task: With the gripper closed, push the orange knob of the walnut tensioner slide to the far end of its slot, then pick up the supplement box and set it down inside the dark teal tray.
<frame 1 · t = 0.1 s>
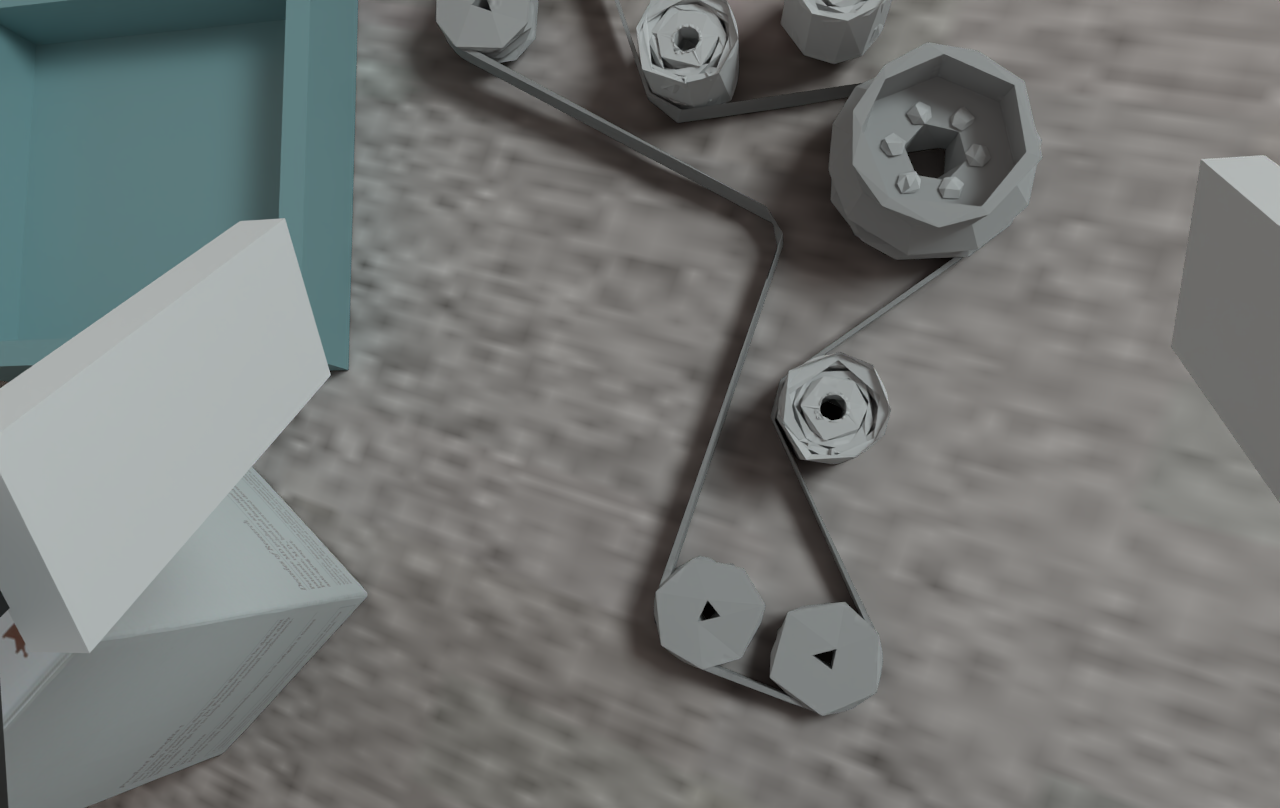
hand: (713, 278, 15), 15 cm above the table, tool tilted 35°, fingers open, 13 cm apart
pulley system: (780, 236, 31), on the table
tray: (181, 192, 34), on the table
supplement box: (228, 594, 33), on the table
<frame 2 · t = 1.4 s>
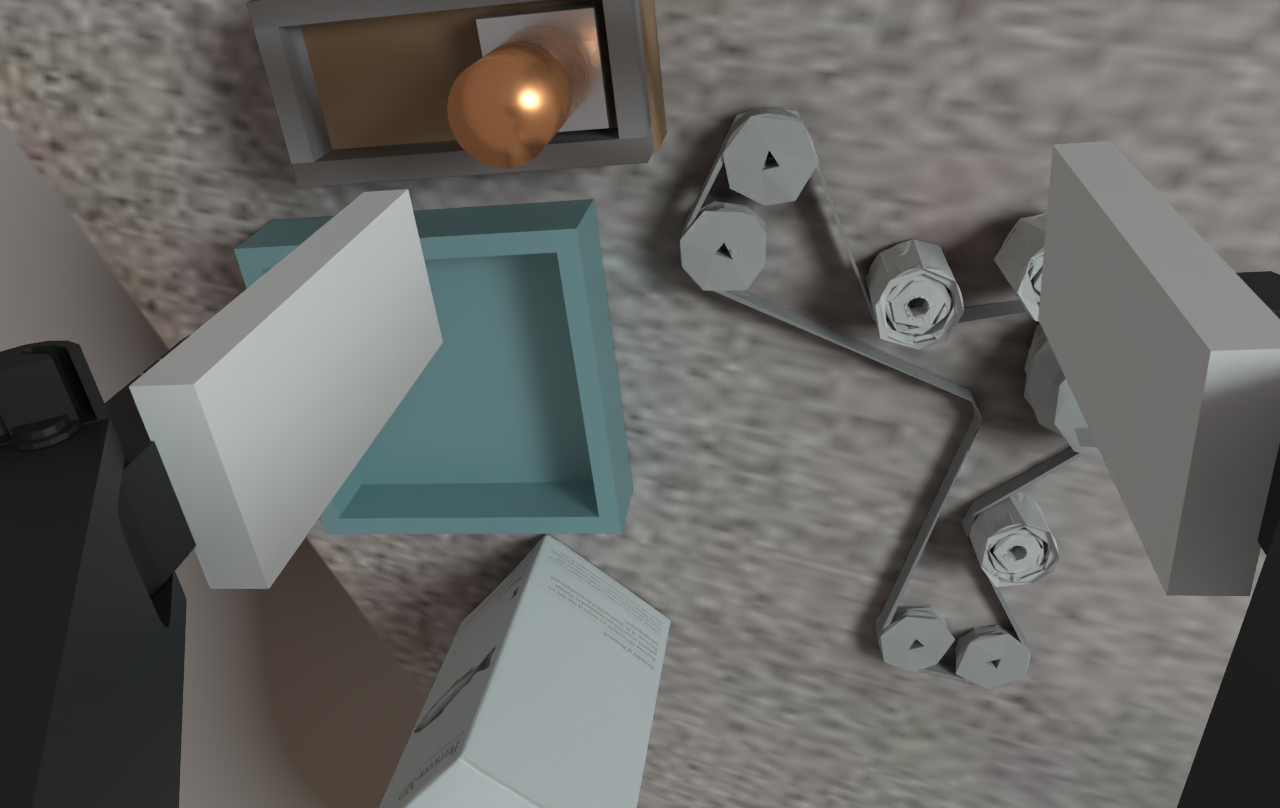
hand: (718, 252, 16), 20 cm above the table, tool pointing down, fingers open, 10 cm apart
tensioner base: (484, 57, 34), on the table
pulley system: (973, 391, 39), on the table
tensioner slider: (529, 88, 29), point 6 cm above the table, slide at 0.0 cm
tray: (461, 360, 41), on the table
supplement box: (565, 615, 47), on the table
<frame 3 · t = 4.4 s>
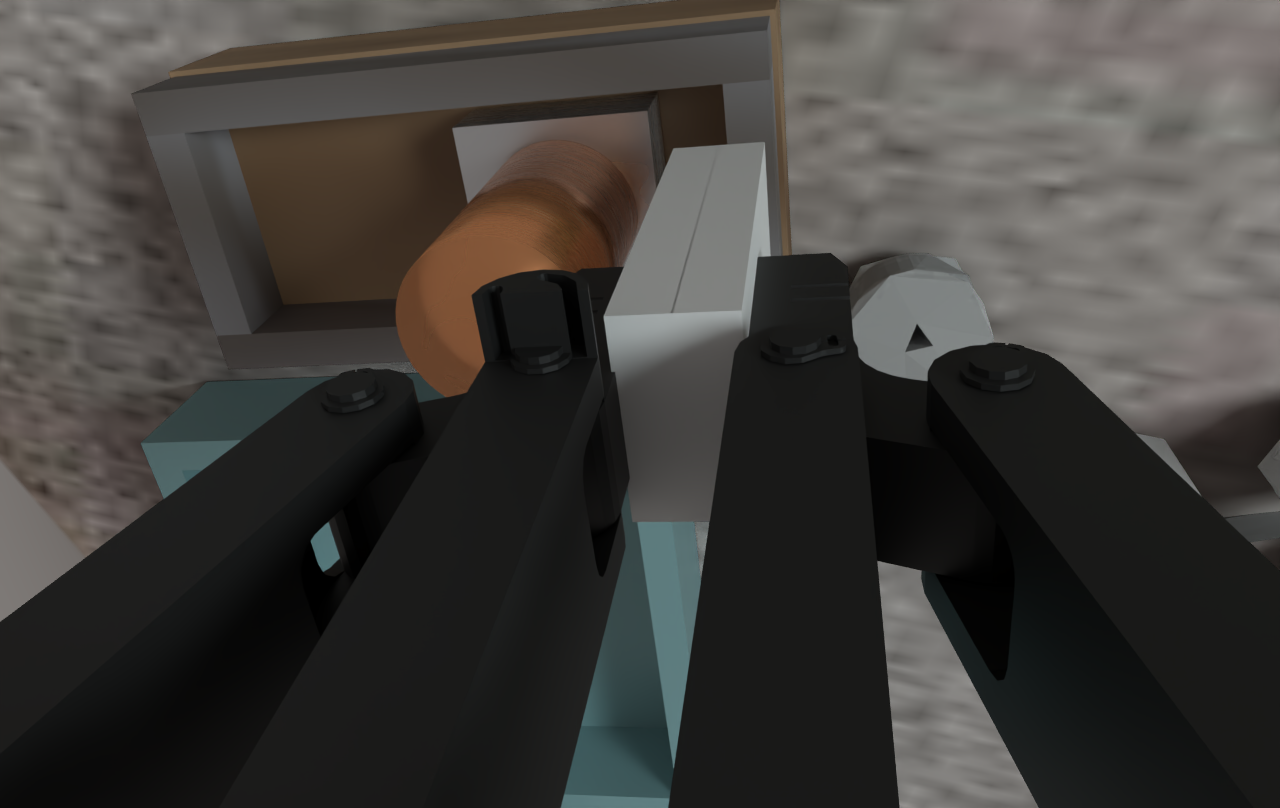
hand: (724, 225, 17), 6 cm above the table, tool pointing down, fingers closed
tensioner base: (515, 161, 23), on the table
pulley system: (1194, 622, 27), on the table
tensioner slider: (540, 249, 17), point 6 cm above the table, slide at 1.1 cm, touching gripper
tray: (479, 568, 29), on the table
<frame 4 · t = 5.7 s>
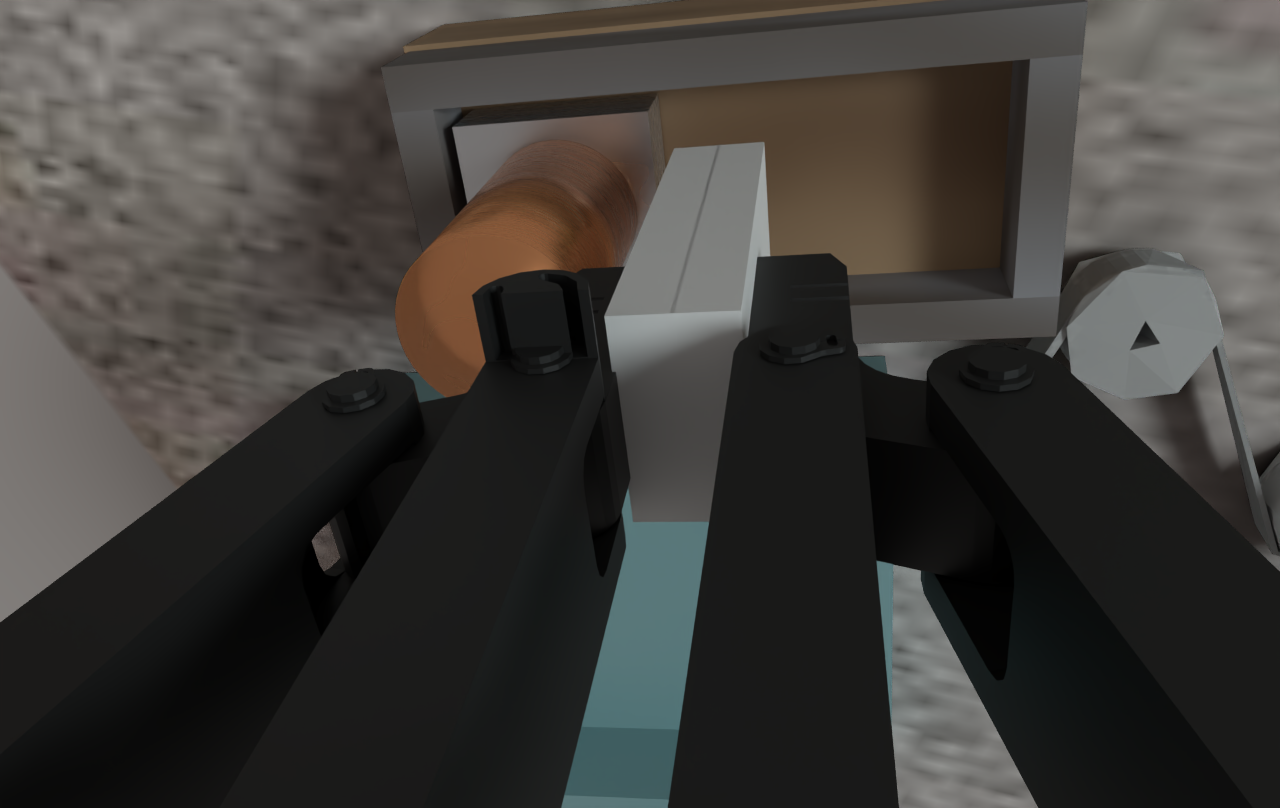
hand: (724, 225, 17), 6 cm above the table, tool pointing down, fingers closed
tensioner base: (737, 144, 22), on the table
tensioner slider: (540, 248, 17), point 6 cm above the table, slide at 6.0 cm, touching gripper
tray: (648, 569, 28), on the table
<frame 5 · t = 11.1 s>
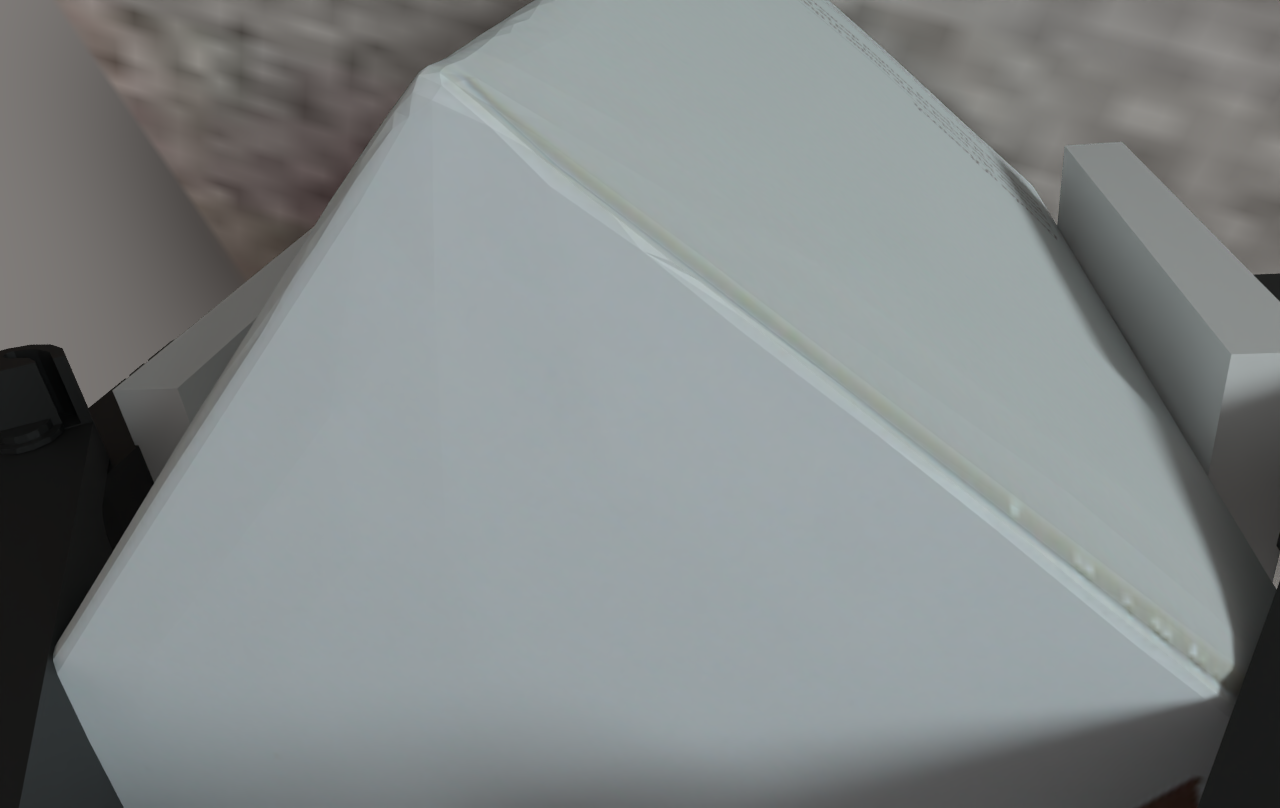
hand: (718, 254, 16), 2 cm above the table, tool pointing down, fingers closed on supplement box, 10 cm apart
supplement box: (728, 203, 18), on the table, touching gripper
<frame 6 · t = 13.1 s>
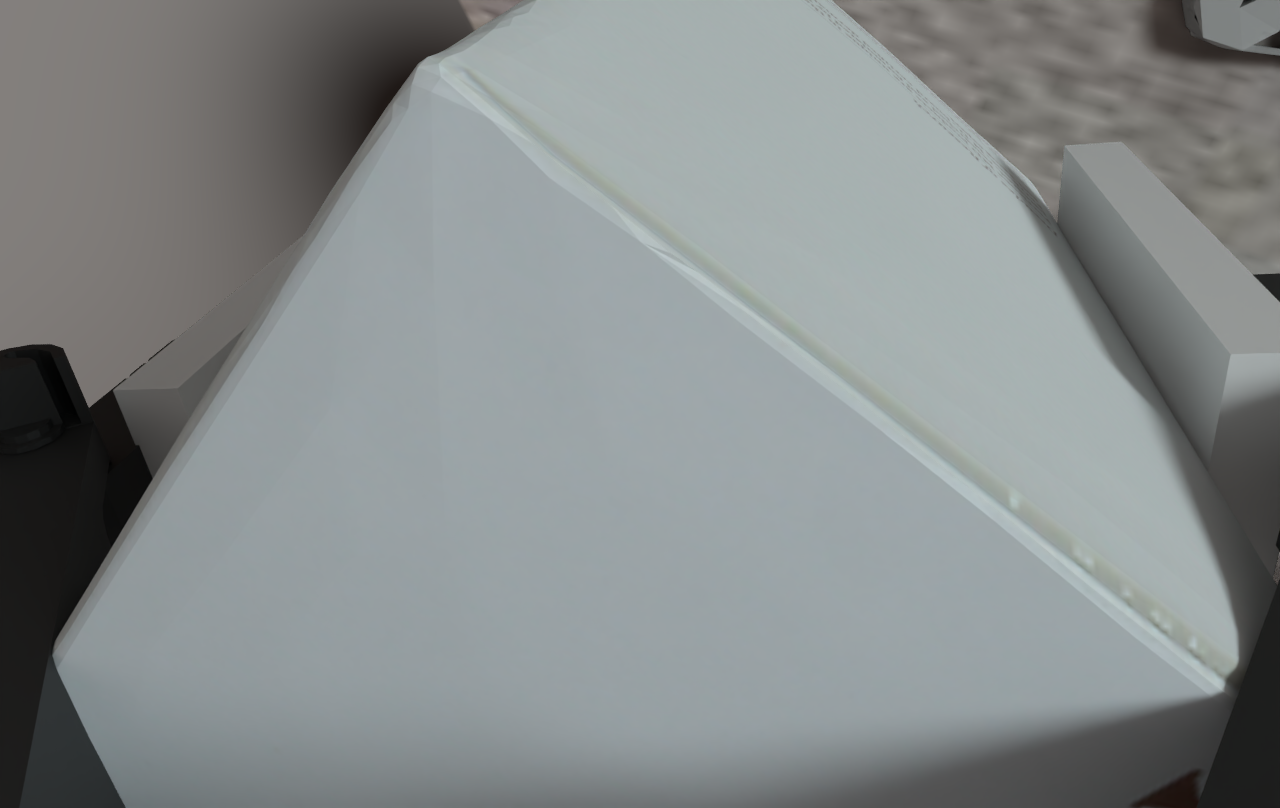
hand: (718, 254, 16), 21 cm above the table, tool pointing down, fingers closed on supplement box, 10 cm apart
supplement box: (728, 201, 18), point 19 cm above the table, touching gripper
when the fingers open (5 cm above the table, at t = 17.8 s): supplement box drops 2 cm, resting on tray.
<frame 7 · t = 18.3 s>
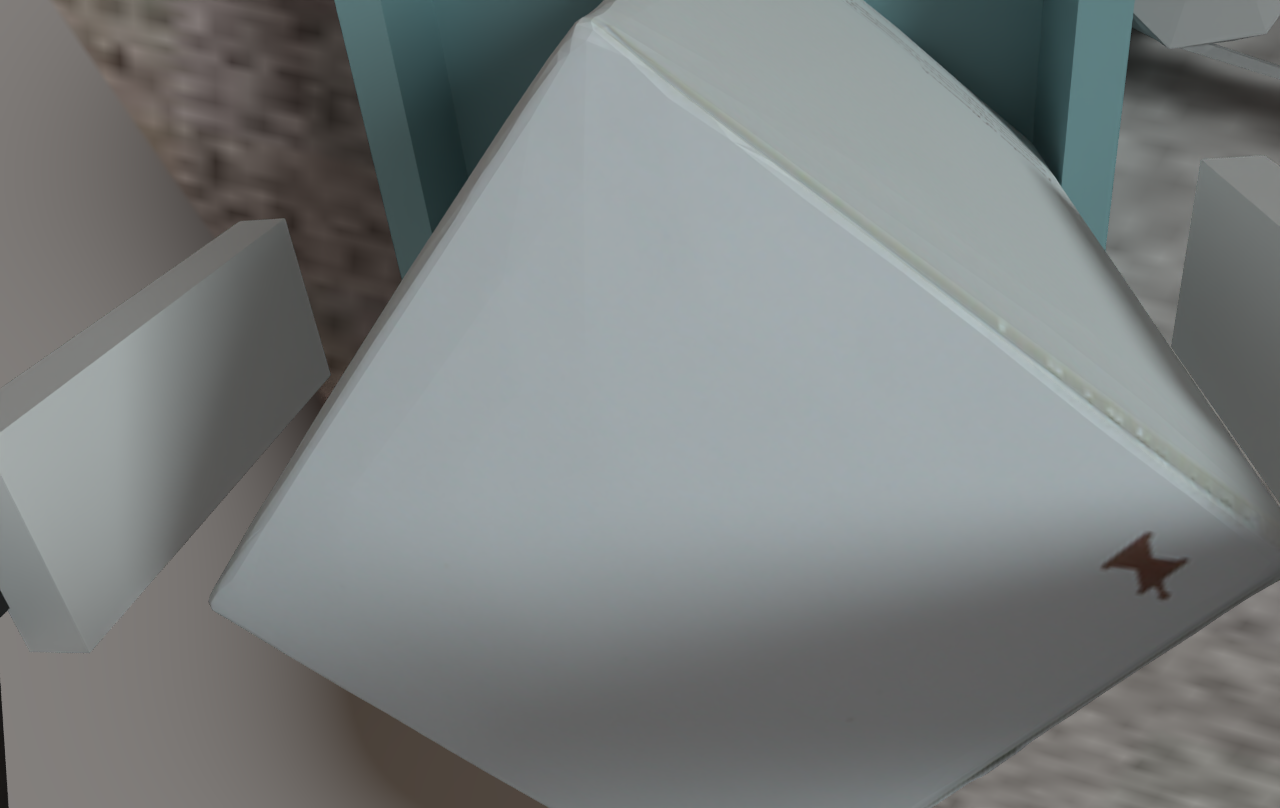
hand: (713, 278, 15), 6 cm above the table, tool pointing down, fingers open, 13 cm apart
tray: (738, 157, 20), on the table
supplement box: (759, 170, 20), resting on tray
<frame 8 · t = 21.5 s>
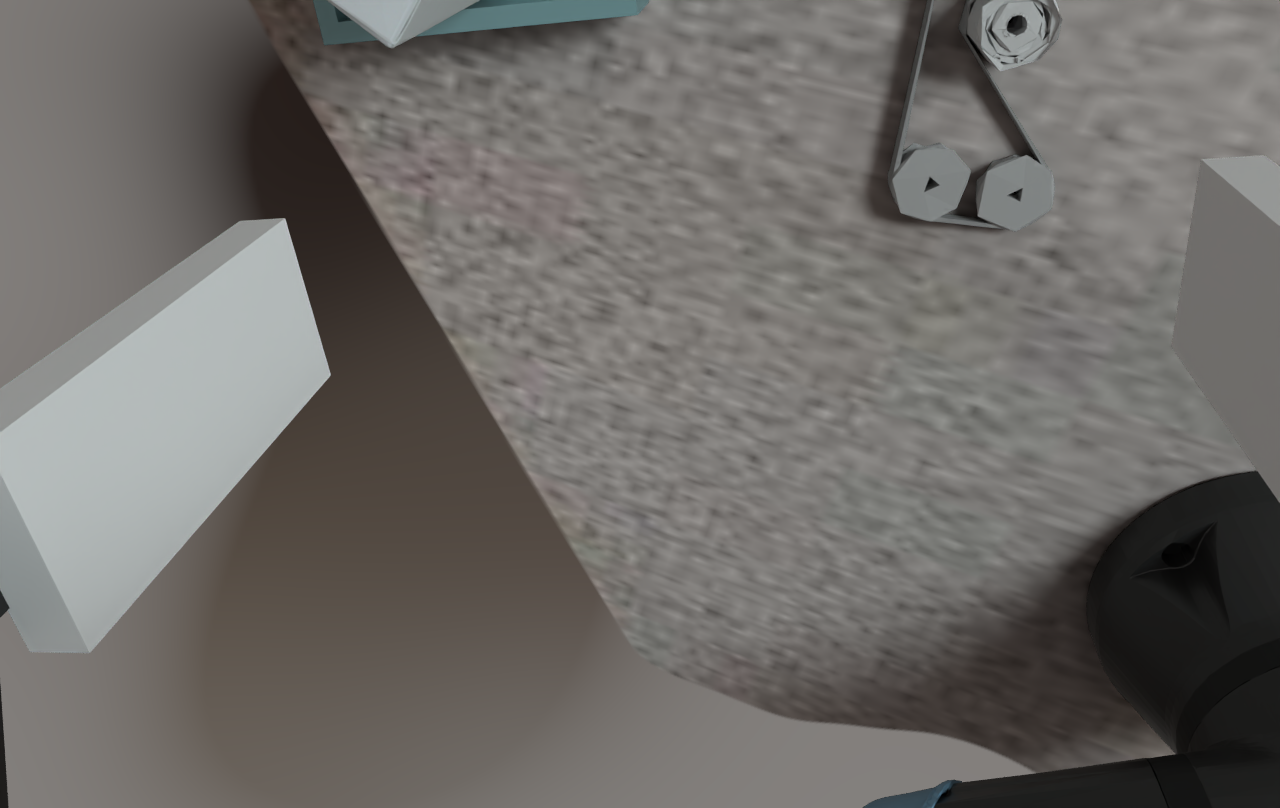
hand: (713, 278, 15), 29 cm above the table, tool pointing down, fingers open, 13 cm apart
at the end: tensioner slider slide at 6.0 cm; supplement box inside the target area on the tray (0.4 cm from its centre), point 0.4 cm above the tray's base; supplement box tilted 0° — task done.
